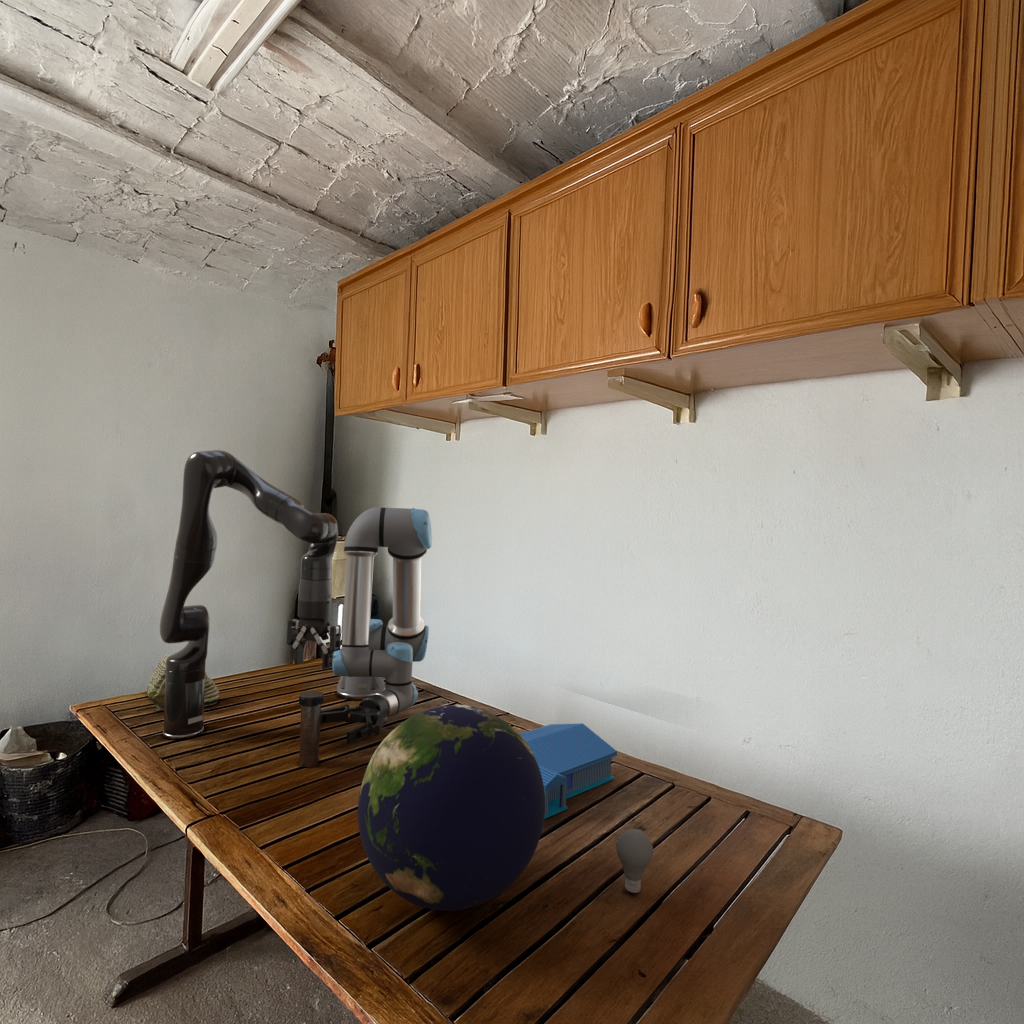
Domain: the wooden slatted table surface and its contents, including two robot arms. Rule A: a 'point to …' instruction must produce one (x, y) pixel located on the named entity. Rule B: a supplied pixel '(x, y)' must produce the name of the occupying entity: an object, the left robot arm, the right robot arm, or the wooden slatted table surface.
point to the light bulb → (634, 857)
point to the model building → (569, 761)
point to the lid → (311, 698)
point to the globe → (451, 807)
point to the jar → (309, 736)
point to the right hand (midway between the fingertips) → (325, 732)
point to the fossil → (158, 687)
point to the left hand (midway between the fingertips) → (312, 666)
